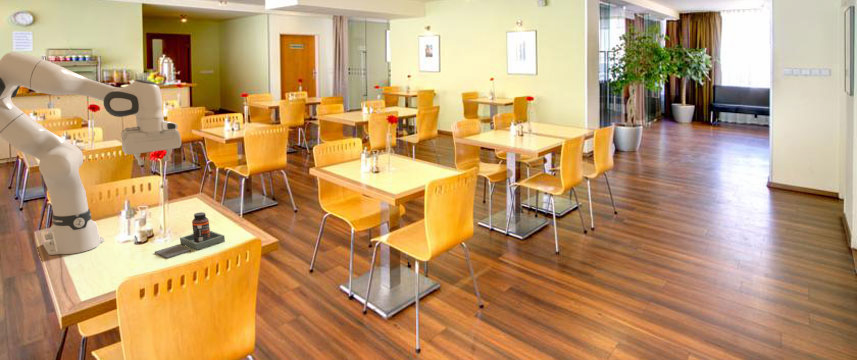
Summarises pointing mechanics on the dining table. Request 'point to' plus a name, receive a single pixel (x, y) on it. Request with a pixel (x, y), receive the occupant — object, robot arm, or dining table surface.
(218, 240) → the tray
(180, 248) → the mat
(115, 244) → the dining table surface
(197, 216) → the supplement bottle
